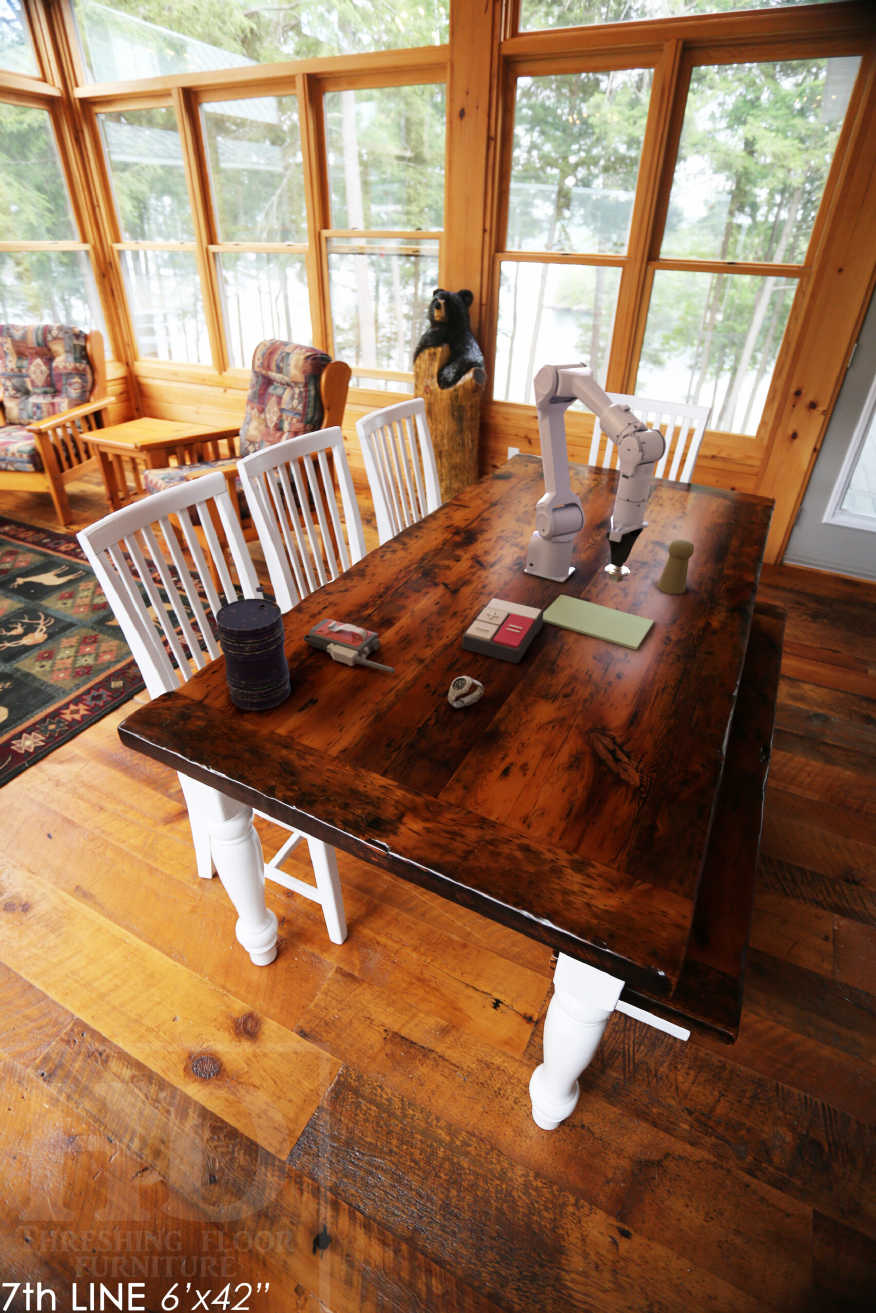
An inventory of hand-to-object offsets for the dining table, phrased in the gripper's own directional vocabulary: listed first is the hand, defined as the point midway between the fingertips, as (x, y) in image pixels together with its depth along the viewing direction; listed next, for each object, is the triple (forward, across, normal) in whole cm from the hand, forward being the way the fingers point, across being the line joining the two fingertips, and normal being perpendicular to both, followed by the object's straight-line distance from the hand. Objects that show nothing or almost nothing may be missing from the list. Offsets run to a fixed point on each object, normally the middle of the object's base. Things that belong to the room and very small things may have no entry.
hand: (618, 563), depth 128 cm
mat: (+10, -7, +1) cm, 12 cm away
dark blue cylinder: (+11, -60, +40) cm, 73 cm away
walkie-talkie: (+11, -42, +34) cm, 55 cm away
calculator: (+11, -23, +14) cm, 28 cm away
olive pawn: (+11, +17, -9) cm, 22 cm away
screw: (+4, 0, 0) cm, 4 cm away
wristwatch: (+11, -45, +10) cm, 47 cm away
